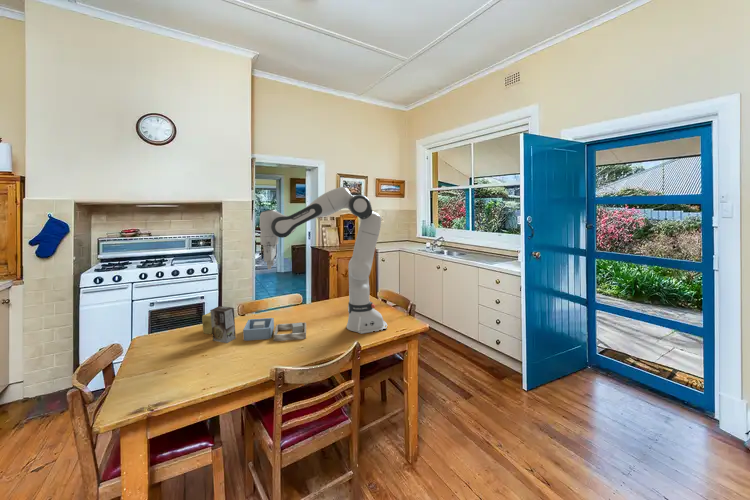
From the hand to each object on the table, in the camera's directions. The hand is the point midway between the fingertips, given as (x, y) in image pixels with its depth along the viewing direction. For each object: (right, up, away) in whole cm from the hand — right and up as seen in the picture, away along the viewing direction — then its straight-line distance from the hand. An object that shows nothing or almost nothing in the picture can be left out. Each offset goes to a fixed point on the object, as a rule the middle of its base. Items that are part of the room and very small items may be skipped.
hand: (270, 267), depth 168 cm
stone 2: (+14, -35, -1) cm, 38 cm away
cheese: (-29, -34, +3) cm, 45 cm away
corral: (+11, -35, -1) cm, 36 cm away
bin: (-5, -35, -1) cm, 35 cm away
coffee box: (-20, -36, -8) cm, 42 cm away
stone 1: (-5, -34, -1) cm, 34 cm away
